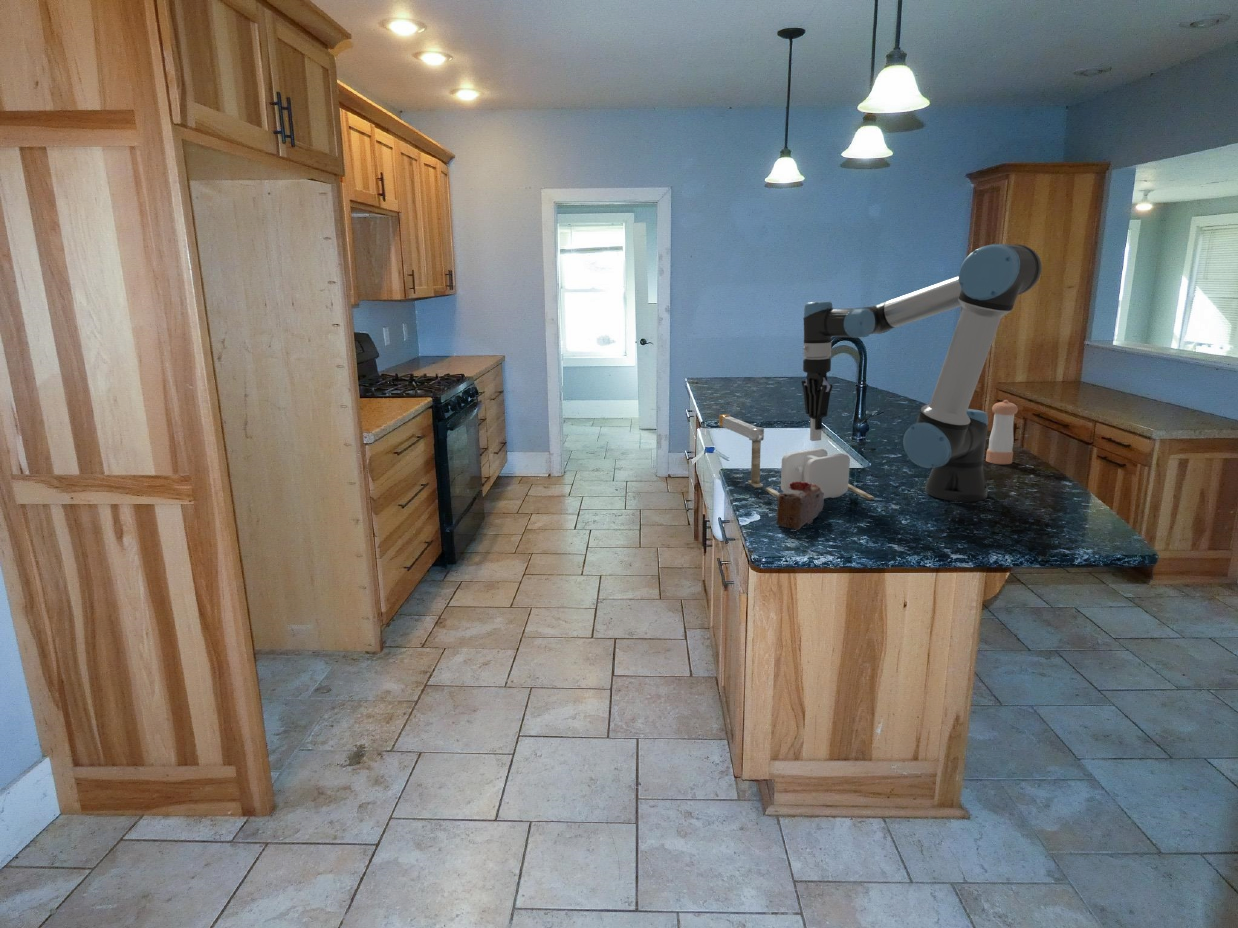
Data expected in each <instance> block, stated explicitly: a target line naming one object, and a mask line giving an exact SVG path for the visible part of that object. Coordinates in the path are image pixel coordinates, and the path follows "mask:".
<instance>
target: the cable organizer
mask: <svg viewBox="0 0 1238 928" xmlns="http://www.w3.org/2000/svg"><path fill="white" fill-rule="evenodd" d="M850 459H851V458H850V456H849V455H848V454H844V453H836V454H830V455H828V451H827V450H826V449H824V448H820V447H815V448H809V449H804V450H803V449H802V450H799V451H792V452H788V453H786V454H784V455H783V457H782V458H781V467H780V468H781V473H780V474H781V475H780V489H781V491H782V492H785V491H787V490H789V489H790V488H789V487H790V484H791V483H792V482H794V483H795V482H809V483H812V484H815V485H817V486H818V487H820V490H821V491H822V493H824V495H823V499H824V500H825V499H828V498H832V499H834V498H839V497H841V496H842V495H844V494H845V493H847V491H848V490H849V489H848V484H849V478H850V477H849V476H850V463H851V462H850V461H851V460H850Z"/></svg>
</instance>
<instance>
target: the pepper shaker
mask: <svg viewBox="0 0 1238 928" xmlns="http://www.w3.org/2000/svg"><path fill="white" fill-rule="evenodd" d="M991 410H992V413H994V415H993V423H992V427H991V428H992V429H991V432H990V435H989V440H988V447H987V449H986V454H985V455H986V457H985V461H986V462H988V463H991V464H993V465H994V464H995V465H1011V464H1013V456H1014V450H1013V447H1014V440H1015V439H1014V422H1015V415H1016V414H1017V413H1018V411H1019V408H1018V406H1017V405H1016V404H1015V403H1013V402H1010V401H1009V400H1008V399H1004V400H1002V401H999V402H996V403H994V404H993V405H992V407H991Z"/></svg>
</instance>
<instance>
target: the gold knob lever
mask: <svg viewBox="0 0 1238 928" xmlns="http://www.w3.org/2000/svg"><path fill="white" fill-rule="evenodd" d="M718 426H719V427H720V428H725V429H727V430H730V431H731V432H734V433H736V434H739V435H741V436H743V437H746V438H748V440H749V441H751V442H752V441H764V440H765V428H764V427H759V426H755V425H752V424H750V423H748V422H745V421H743V420H740V419H737V418H735V417H732V416H731V415H730V414H719V416H718Z"/></svg>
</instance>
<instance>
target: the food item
mask: <svg viewBox="0 0 1238 928" xmlns="http://www.w3.org/2000/svg"><path fill="white" fill-rule="evenodd" d="M789 488H790V489H789V490H787V491H785V492H784V491H782V492H781V493H780V494H779V497H778V499H777V510H776V525H777V526H779V527H781V528H787V529H794V530H796V531H797V530H800V529H801V528H802V527H803V526H805V525H806V524H808V525H810V524H813V521H814V519H815V518H817V516H818V515H819V513H821V512H822V510H823V508H824V503H825V502H824V500H825V498H824V499H823V495H824V493H822V491H821V490H820V487H818V486H817V485H815V484H812V483H809V482H795V483H794V482H792V483H791V484H790V487H789Z"/></svg>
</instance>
